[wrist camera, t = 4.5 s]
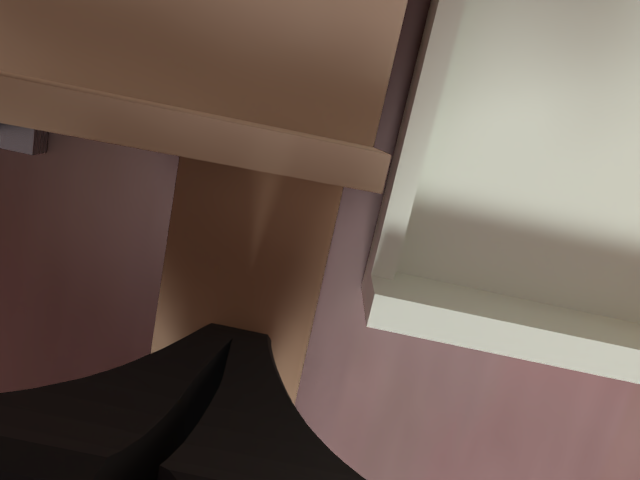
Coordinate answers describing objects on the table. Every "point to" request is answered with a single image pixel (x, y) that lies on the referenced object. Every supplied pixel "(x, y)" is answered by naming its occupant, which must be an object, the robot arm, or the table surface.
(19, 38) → the lever
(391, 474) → the table surface
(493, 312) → the dish
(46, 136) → the pivot
